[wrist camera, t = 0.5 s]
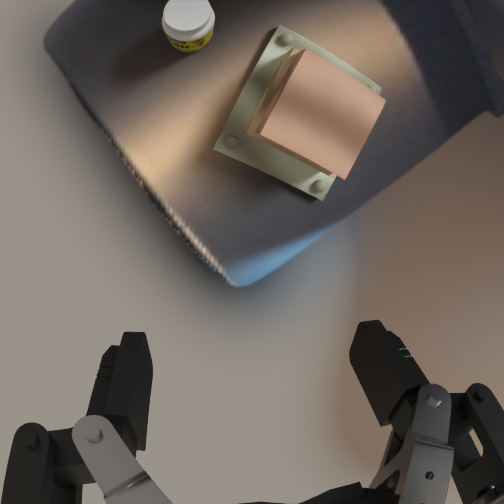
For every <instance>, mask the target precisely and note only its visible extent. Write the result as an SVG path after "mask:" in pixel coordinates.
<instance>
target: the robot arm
mask: <svg viewBox="0 0 504 504" xmlns="http://www.w3.org/2000/svg"><path fill="white" fill-rule="evenodd" d="M349 357H350V363H351V365H352V367H353V369H354V371H355V373H356V375H357V377H358V380H359V382H360V384H361V386H362V388H363V390H364V392H365V394H366V396H367V398H368V400H369V403H370V405H371V407H372V409H373V411H374V413H375V415H376V418H377V420H378V422H379V424H380V426H381V427H382V426H386V425H389V424H391V425H392V427H393V429H392V431H391V433H390V436H389V440H388V443H387V446H386V449H385V453H384V455H383V459H382V462H381V465H380V468H379V470H378V472H377V474H376V476H375V477H374V478H373V480H372V482H371V484H370V486H369V488H362V486H361V483H360V482H357V483H353V484H350V485H346V486H342V487H338V488H335V489H330V490H328V491H326V492H324V493H322V494H320V495H318V496H316V497H313V498H311V499H309V500H307V501H305V502H302V503H299V504H445V500H446V496H447V491H448V487H449V481H450V476H451V475H452V477H453V480H454V482H455V485H456V487H457V490H458V492H459V494H460V497H461V500H462V502H463V504H504V411H503V409H502V407H501V405H500V404H499V402H498V401H497V399H496V398H495V396H494V394H493V393H492V391H491V390H490V389H489V388H488V387H487V386H485V385H483V384H480V383H474V384H472V385H471V386H470V387H469V388H468V389H467V391H466V392H465V393H449V392H448V391H447V390H446V389H445V388H443V387H442V386H440V385H438V384H433V383H429V381H428V380H427V378H426V377H425V375H424V373H423V372H422V371H421V369H420V368H419V366H418V364H417V363H416V361H415V360H414V358H413V357H411V354H410V352H409V351H408V350H407V349H406V346H405V345H404V344H403V342H402V341H401V339H400V338H399V337H397V336H396V335H395V334H394V333H392V332H391V331H387V330H386V329H385V327H384V326H383V324H382V323H381V322H380V321H379V320H372V321H364V322H360V323H359V325H358V327H357V330H356V333H355V336H354V339H353V342H352V345H351V348H350V352H349ZM99 367H100V369H99V370H98V373H97V378H96V380H95V384H94V388H93V391H92V395H91V399H90V403H89V407H88V411H87V414H86V416H85V417H83V418H81V419H80V420H78V422H77V423H76V424H75V425H74V427H72V428H68V429H62V430H54V431H47V430H46V429H45V428H44V427H43V426H41V425H40V424H38V423H26V424H24V425H22V426H21V427H19V429H18V430H17V431H16V433H15V435H14V439H13V443H12V447H11V451H10V456H9V460H8V465H7V470H6V475H5V480H4V486H3V493H2V500H1V504H82V487H83V484H89V483H96V482H97V484H98V486H99V487H100V489H101V490H102V492H103V494H104V499H105V501H106V503H107V504H173V503H172V502H171V501H170V500H169V499H168V498H167V496H166V495H165V494H164V493H163V492H162V491H161V489H160V488H159V487H158V486H157V485H156V484H155V483H154V481H153V480H152V479H151V477H150V476H149V475H148V474H147V473H146V472H145V471H144V470H143V468H142V467H141V465H140V464H139V463H138V461H137V460H136V450H142V451H145V449H146V436H147V424H148V413H149V404H150V395H151V387H152V379H153V364H152V359H151V355H150V351H149V347H148V342H147V338H146V334H145V333H144V332H124V333H123V336H122V340H121V343H120V346H116V345H111V346H110V347H109V349H108V350H107V351H106V352H105V353H104V354H103V356H102V360H101V363H100V366H99ZM472 429H474V430H475V433H476V434H477V436H478V438H479V440H480V442H481V444H482V446H483V455H482V457H481V456H480V454H479V452H478V450H477V448H476V446H475V444H474V442H473V440H472V438H471V436H470V434H469V432H470V431H471V430H472ZM241 504H283V503H270V502H269V503H268V502H253V503H241Z"/></svg>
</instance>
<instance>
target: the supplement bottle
mask: <svg viewBox="0 0 504 504" xmlns="http://www.w3.org/2000/svg"><path fill="white" fill-rule="evenodd" d="M214 21H215V15H214V11H213V9H212V8H211V6H210V3H209V2H208V0H170V1H169V2H168V3H167V4H166V6H165V8H164V11H163V17H162V26H163V29H164V31H165V33H166V35H167V37H168V39H169V42H170V43H171V45H172V46H173V47H174V48H176V49H177V50H179V51H182V52H195V51H198V50H201V49H203V48H204V47H205V46H206V45H207V44H208V43H209V42H210V40H211V38H212V35H213V28H214Z"/></svg>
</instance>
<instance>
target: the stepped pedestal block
mask: <svg viewBox="0 0 504 504" xmlns="http://www.w3.org/2000/svg"><path fill="white" fill-rule="evenodd" d="M381 89H382V88H380V87H379V86H378V85H376V84H375V83H374V82H372V81H371V80H370V79H368V78H367V77H366V76H364V75H363V74H361V73H360V72H358V71H357V70H356V69H354V68H353V67H351V66H350V65H348V64H347V63H345V62H344V61H342V60H341V59H339V58H337V57H336V56H334V55H333V54H331V53H329V52H328V51H326V50H325V49H323V48H321V47H320V46H318V45H316V44H314V43H313V42H311V41H309V40H307V39H306V38H304V37H302V36H300V35H298V34H297V33H295V32H293V31H291V30H289V29H287V28H285V27H283V26H281V25H279V26H278V27H277V29H276V30H275V32H274V34H273V36H272V37H271V39H270V41H269V42H268V44H267V46H266V48H265V49H264V51H263V53H262V55H261V56H260V58H259V60H258V62H257V64H256V65H255V67H254V69H253V71H252V73H251V74H250V76H249V78H248V80H247V82H246V84H245V86H244V87H243V89H242V91H241V93H240V95H239V97H238V99H237V101H236V103H235V105H234V107H233V109H232V111H231V113H230V115H229V116H228V118H227V120H226V122H225V125H224V127H223V129H222V131H221V133H220V135H219V137H218V139H217V141H216V143H215V145H214V147H213V150H216V151H218V152H220V153H223V154H225V155H227V156H230V157H232V158H234V159H236V160H239V161H241V162H243V163H245V164H247V165H250V166H252V167H254V168H256V169H258V170H261V171H263V172H265V173H267V174H269V175H271V176H273V177H275V178H277V179H280V180H282V181H284V182H286V183H288V184H290V185H292V186H294V187H296V188H298V189H300V190H302V191H304V192H306V193H308V194H310V195H312V196H314V197H316V198H318V199H320V200H322V201H323V199H324V197H325V196H326V194H327V192H328V190H329V188H330V187H331V185H332V183H333V181H334V179H335V177H336V176H339V177H341V178H343V179H344V180H345V179H346V177H347V175H348V173H349V171H350V169H351V168H352V166H353V164H354V162H355V160H356V158H357V156H358V155H359V153H360V151H361V149H362V147H363V145H364V143H365V141H366V139H367V137H368V136H369V134H370V132H371V130H372V128H373V126H374V124H375V122H376V120H377V118H378V116H379V114H380V112H381V110H382V108H383V106H384V104H385V102H386V100H385V99H383V98H382V97H381V96H379V93H380V91H381Z"/></svg>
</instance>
